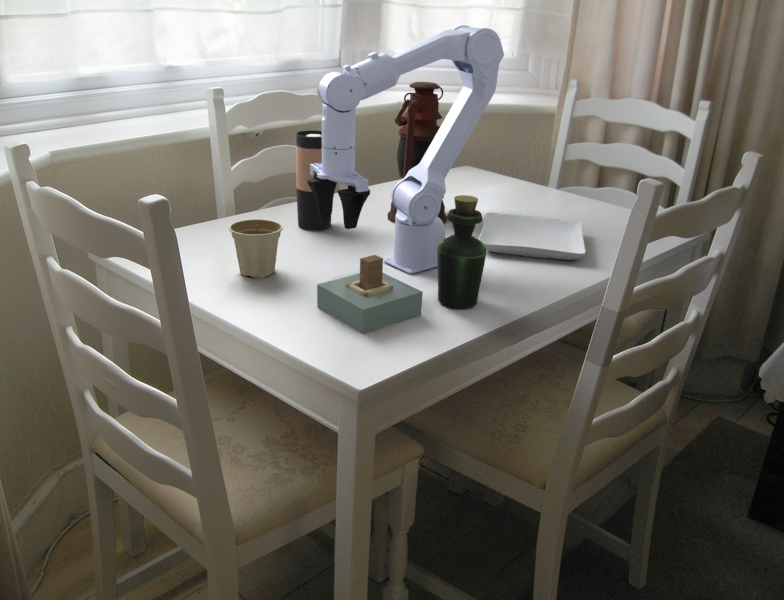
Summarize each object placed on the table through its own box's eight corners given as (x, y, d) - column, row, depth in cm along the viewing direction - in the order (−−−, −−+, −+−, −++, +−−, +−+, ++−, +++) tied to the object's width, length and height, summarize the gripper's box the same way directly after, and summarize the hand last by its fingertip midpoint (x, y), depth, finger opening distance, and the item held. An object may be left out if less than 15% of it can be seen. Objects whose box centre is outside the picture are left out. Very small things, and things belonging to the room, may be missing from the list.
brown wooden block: (359, 304, 114) (360, 258, 111) (373, 300, 116) (375, 254, 113) (366, 309, 113) (368, 262, 110) (381, 304, 115) (383, 258, 111)
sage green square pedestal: (374, 290, 122) (375, 265, 121) (421, 314, 114) (422, 288, 112) (317, 306, 115) (317, 280, 113) (362, 333, 107) (363, 305, 105)
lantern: (431, 233, 153) (440, 90, 141) (373, 223, 158) (377, 84, 146) (458, 213, 168) (468, 82, 156) (404, 205, 173) (410, 77, 161)
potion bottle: (491, 302, 120) (502, 199, 113) (462, 316, 114) (472, 208, 107) (452, 289, 125) (460, 189, 117) (423, 301, 119) (430, 197, 112)
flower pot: (260, 259, 134) (258, 215, 131) (294, 272, 129) (293, 226, 126) (220, 271, 128) (217, 226, 124) (254, 286, 122) (252, 238, 119)
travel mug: (291, 229, 152) (290, 135, 144) (304, 219, 159) (303, 129, 151) (325, 233, 150) (325, 138, 142) (336, 222, 157) (337, 132, 149)
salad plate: (584, 268, 138) (587, 252, 136) (475, 257, 141) (477, 240, 140) (580, 235, 157) (582, 220, 156) (484, 226, 161) (485, 211, 159)
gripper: (295, 141, 124) (296, 215, 129) (344, 156, 113) (343, 237, 119) (328, 137, 128) (328, 210, 133) (379, 152, 118) (376, 230, 123)
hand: (337, 222), depth 126 cm, fingers open, 7 cm apart
